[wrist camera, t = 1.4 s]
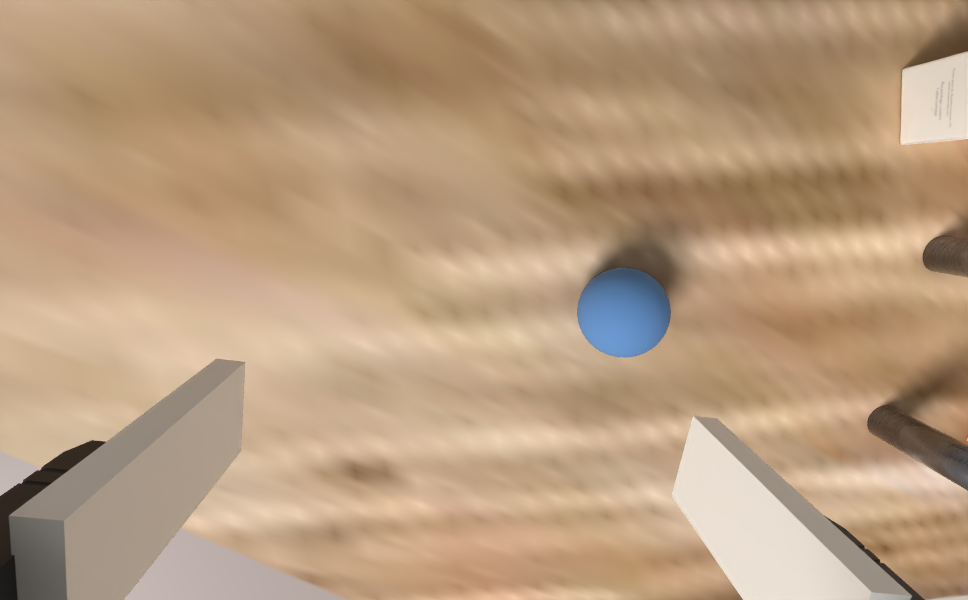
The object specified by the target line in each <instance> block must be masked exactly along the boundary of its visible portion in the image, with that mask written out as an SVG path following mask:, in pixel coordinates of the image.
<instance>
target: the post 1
mask: <svg viewBox="0 0 968 600" xmlns="http://www.w3.org/2000/svg"><path fill="white" fill-rule="evenodd" d="M868 429H869V431H870V432H871V433H872V434H873V435H875V436H877V437H878V438H880V439H882V440H883V441H885V442H887V443H888V444H890V445H892V446H894V447H895V448H897V449H899V450H900V451H902V452H904V453H905V454H907V455H909V456H910V457H912V458H914V459H915V460H917V461H919V462H920V463H922V464H924V465H926V466H927V467H929V468H931V469H932V470H934V471H936V472H937V473H939V474H941V475H942V476H944V477H946V478H947V479H949V480H951V481H953V482H954V483H956V484H958V485H959V486H961V487H963V488H964V489H966V490H968V445H966V444H965V443H963V442H961V441H959V440H957V439H955V438H953V437H951V436H949V435H947V434H945V433H943V432H941V431H939V430H937V429H935V428H933V427H931V426H929V425H927V424H925V423H923V422H921V421H919V420H917V419H915V418H913V417H911V416H909V415H907V414H905V413H903V412H901V411H899V410H897V409H895V408H893V407H891V406H883V407H880V408H878V409H876V410H875V411H874V412H873V413H872V414H871V415H870V417H869V419H868Z"/></svg>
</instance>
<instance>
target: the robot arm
mask: <svg viewBox="0 0 968 600" xmlns="http://www.w3.org/2000/svg"><path fill="white" fill-rule="evenodd" d="M244 378H245V362H240V361H231V360H223V359H216V360H214V361H213V362H212V363H210V364H209V365H208V366H206V367H205V368H204V369H202V370H201V371H200V372H198V373H197V374H196V375H194V376H193V377H192V378H191V379H189V380H188V381H187V382H185V383H184V384H183V385H181V386H180V387H179V388H177V389H176V390H175V391H173V392H172V393H171V394H169V395H168V396H167V397H165V398H164V399H163V400H161V401H160V402H159V403H157V404H156V405H155V406H153V407H152V408H151V409H149V410H148V411H147V412H145V413H144V414H143V415H142V416H140V417H139V418H138V419H136V420H135V421H134V422H132V423H131V424H130V425H128V426H127V427H126V428H124V429H123V430H122V431H120V432H119V433H118V434H116V435H115V436H114V437H112V438H111V439H110V440H108V441H107V442H103V441H93V440H92V441H89V442H87V443H85V444H82V445H80V446H77V447H75V448H72V449H70V450H68V451H65V452H63V453H62V454H60V455H59V456H57V457H56V458H54V459H53V460H51V461H50V462H49V463H47V464H46V465H44V466H43V467H42V468H41V470H40V471H36V472H34V473H33V474H32V475H30V476H29V477H27V478H26V479H24V480H23V483H22V484H17V485H16V486H14V487H13V488H11V489H10V490H9V491H7V492H6V493H4V494H3V495H1V496H0V600H124V599H125V598H126V597H127V595H128V594H129V593H130V592H131V590H132V589H133V588H134V586H135V585H136V584H137V582H138V581H139V580H140V579H141V577H142V576H143V575H144V574H145V573H146V571H147V570H148V569H149V567H150V566H151V565H152V564H153V562H154V561H155V560H156V559H157V557H158V556H159V555H160V553H161V552H162V551H163V550H164V548H165V547H166V546H167V545H168V543H169V542H170V541H171V539H172V538H173V537H174V536H175V534H176V533H177V532H178V531H179V529H180V528H181V527H182V525H183V524H184V523H185V522H186V520H187V519H188V518H189V517H190V515H191V514H192V513H193V511H194V510H195V509H196V508H197V506H198V505H199V504H200V502H201V501H202V500H203V499H204V497H205V496H206V495H207V494H208V492H209V491H210V490H211V488H212V487H213V486H214V485H215V483H216V482H217V481H218V480H219V478H220V477H221V476H222V474H223V473H224V472H225V471H226V469H227V468H228V467H229V466H230V464H231V463H232V462H233V460H234V459H235V458H236V457H237V455H238V454H239V453H240V452H241V439H242V419H243V398H244ZM672 497H673V498H674V500H675V501H676V503H677V504H678V506H679V507H680V509H681V510H682V511H683V513H684V514H685V516H686V517H687V519H688V520H689V522H690V523H691V525H692V526H693V527H694V529H695V530H696V532H697V533H698V535H699V536H700V538H701V539H702V541H703V542H704V543H705V545H706V546H707V548H708V549H709V551H710V552H711V554H712V555H713V557H714V558H715V559H716V561H717V562H718V564H719V565H720V567H721V568H722V570H723V571H724V573H725V574H726V575H727V577H728V578H729V580H730V581H731V583H732V584H733V586H734V587H735V589H736V590H737V591H738V593H739V594H740V596H741V597H742V599H743V600H924V599H923V598H922V597H921V596H920V595H919V594H918V593H916V592H915V591H914V590H913V589H912V588H911V587H910V586H909V585H908V584H906V583H905V582H904V581H903V580H902V579H901V578H900V577H899V576H897V575H896V574H895V573H894V572H893V571H892V570H891V569H890V568H888V567H887V566H886V565H885V564H884V563H880V559H878V558H877V557H876V556H875V555H874V554H873V553H872V552H871V551H869V550H868V549H865V548H864V545H863V544H862V543H861V542H859V541H858V540H857V539H856V538H855V537H854V536H853V535H852V534H850V533H849V532H848V531H847V530H846V529H844V528H843V527H841V526H840V525H838V524H837V523H835V522H833V521H832V520H830V519H829V518H827V517H826V516H824V515H823V514H821V513H820V512H819V511H818V510H817V509H816V508H815V507H814V506H813V505H812V504H810V503H809V502H808V501H807V500H806V499H805V498H804V497H803V496H802V495H801V494H799V493H798V492H797V491H796V490H795V489H794V488H793V487H792V486H791V485H790V484H788V483H787V482H786V481H785V480H784V479H783V478H782V477H781V476H780V475H779V474H777V473H776V472H775V471H774V470H773V469H772V468H771V467H770V466H769V465H768V464H766V463H765V462H764V461H763V460H762V459H761V458H760V457H759V456H758V455H757V454H755V453H754V452H753V451H752V450H751V449H750V448H749V447H748V446H747V445H746V444H744V443H743V442H742V441H741V440H740V439H739V438H738V437H737V436H736V435H735V434H733V433H732V432H731V431H730V430H729V429H728V428H727V427H726V426H725V425H724V424H722V423H721V422H720V421H719V420H718V419H716V418H707V417H699V416H693V419H692V422H691V426H690V430H689V433H688V437H687V441H686V445H685V448H684V452H683V456H682V459H681V463H680V467H679V470H678V474H677V478H676V482H675V485H674V489H673V493H672Z"/></svg>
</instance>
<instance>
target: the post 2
mask: <svg viewBox="0 0 968 600" xmlns="http://www.w3.org/2000/svg"><path fill="white" fill-rule="evenodd" d="M923 262H924V265H925V266H926V268H928V269H929V270H931V271H935V272H940V273H946V274H952V275H957V276H963V277H968V239H965V238H955V237H945V236H942V237H938V238H935V239H934V240H932V241H931V242H930V243H929V244H928V245H927V246H926V248H925V250H924V253H923Z"/></svg>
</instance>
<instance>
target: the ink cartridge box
mask: <svg viewBox="0 0 968 600" xmlns="http://www.w3.org/2000/svg"><path fill="white" fill-rule="evenodd" d="M963 139H968V51H967V52H963V53H959V54H956V55H952V56H948V57H945V58H941V59H938V60H934V61H930V62H927V63H923V64H919V65H915V66H911V67H907V68H904V69H903V70H902V98H901V133H900V142H901V144H902V145H910V144H921V143H932V142H942V141H952V140H963Z"/></svg>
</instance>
